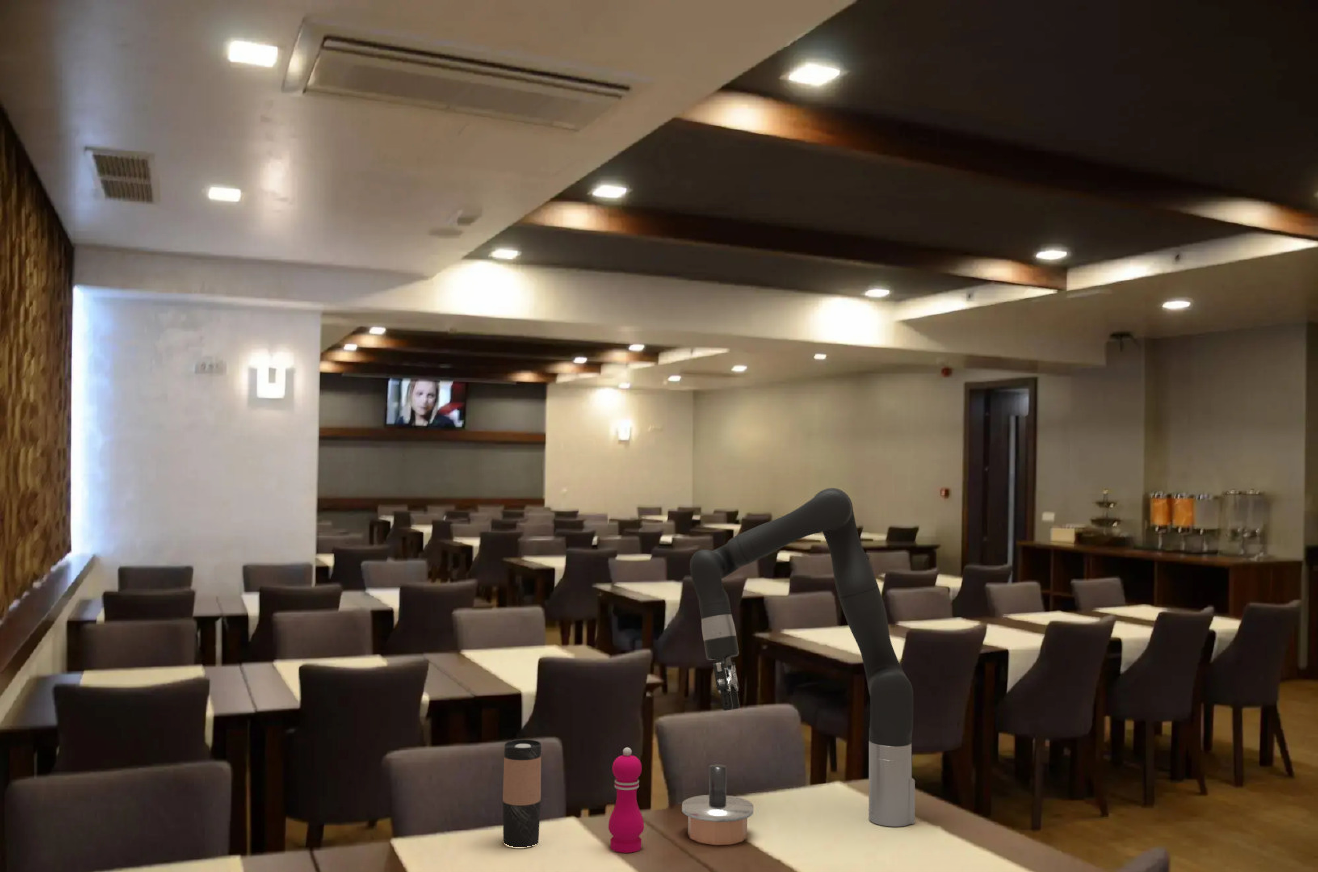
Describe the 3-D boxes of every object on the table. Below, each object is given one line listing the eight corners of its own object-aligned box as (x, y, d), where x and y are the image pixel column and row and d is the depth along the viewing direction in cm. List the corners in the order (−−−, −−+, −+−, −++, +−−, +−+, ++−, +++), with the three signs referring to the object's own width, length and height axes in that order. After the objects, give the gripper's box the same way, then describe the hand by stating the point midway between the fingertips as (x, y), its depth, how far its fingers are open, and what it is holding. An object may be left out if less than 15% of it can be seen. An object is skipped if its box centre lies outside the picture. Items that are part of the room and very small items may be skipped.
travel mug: (546, 840, 217) (548, 741, 218) (526, 851, 210) (528, 749, 211) (515, 834, 220) (517, 737, 221) (494, 845, 213) (496, 745, 214)
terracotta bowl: (739, 825, 229) (739, 801, 229) (751, 843, 217) (751, 818, 217) (684, 826, 227) (684, 803, 227) (694, 845, 215) (694, 820, 215)
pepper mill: (645, 842, 216) (646, 743, 217) (641, 854, 209) (642, 752, 210) (610, 841, 217) (612, 742, 218) (605, 853, 210) (607, 751, 211)
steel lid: (744, 799, 231) (744, 756, 231) (760, 820, 216) (761, 774, 216) (676, 801, 229) (677, 758, 229) (688, 822, 214) (689, 776, 214)
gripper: (730, 633, 233) (742, 707, 229) (741, 635, 247) (753, 705, 242) (697, 638, 235) (709, 713, 231) (710, 640, 248) (721, 710, 244)
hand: (731, 709), depth 237 cm, fingers open, 8 cm apart
